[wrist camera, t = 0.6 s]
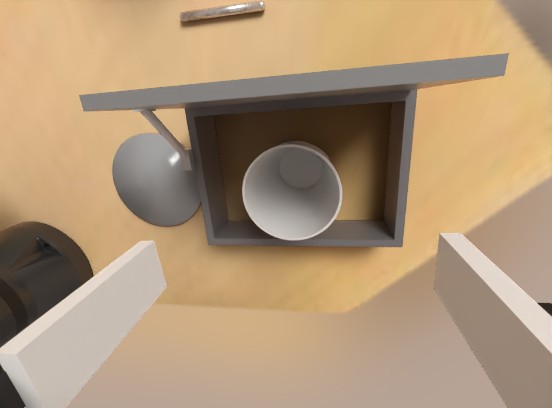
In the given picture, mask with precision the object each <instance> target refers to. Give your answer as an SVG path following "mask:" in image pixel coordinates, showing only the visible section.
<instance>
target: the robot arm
mask: <svg viewBox="0 0 552 408" xmlns="http://www.w3.org/2000/svg"><path fill="white" fill-rule="evenodd" d="M166 287H167V285H166V281H165V278H164V274H163V271H162V267H161V264H160V260H159V257H158V253H157V250H156V246H155V243H154V241H140V242H138V243H137V244H136V245H134V246H133V247H132V248H130V249H129V250H128V251H127V252H125V253H124V254H123V255H121V256H120V257H119V258H117V259H116V260H115V261H113V262H112V263H111V264H109V265H108V266H107V267H106V268H104V269H103V270H102V271H100V272H99V273H98V274H96V275H95V276H94V277H93V275H92V270H91V267H90V264H89V262H88V260H87V258H86V256H85V255H84V253H83V252H82V250H81V249H80V248H79V247H78V246H77V244H76V243H75V242H74V241H73V240H72V239H70V238H69V237H68V236H67V235H65V234H64V233H63V232H61V231H59V230H58V229H56V228H54V227H52V226H49V225H47V224H43V223H39V222H23V223H20V224H17V225H15V226H12V227H10V228H7V229H5V230H3V231H1V232H0V408H24V407H26V408H66V407H67V406H68V405H69V403H70V402H71V401H72V400H73V399H74V397H75V396H76V395H77V394H78V393H79V391H80V390H81V389H82V388H83V387H84V385H85V384H86V383H87V382H88V381H89V379H90V378H91V377H92V376H93V375H94V373H95V372H96V371H97V370H98V368H99V367H100V366H101V365H102V364H103V363H104V362H105V360H106V359H107V358H108V357H109V356H110V354H111V353H112V352H113V351H114V350H115V348H116V347H117V346H118V345H119V344H120V342H121V341H122V340H123V339H124V338H125V336H126V335H127V334H128V333H129V332H130V330H131V329H132V328H133V327H134V326H135V324H136V323H137V322H138V321H139V320H140V318H141V317H142V316H143V315H144V314H145V313H146V311H147V310H148V309H149V308H150V307H151V305H152V304H153V303H154V302H155V301H156V299H157V298H158V297H159V296H160V295H161V293H162V292H163V291H164V290H165V289H166ZM434 290H435V291H436V293H437V295H438V296H439V298H440V299H441V301H442V303H443V304H444V306H445V308H446V309H447V311H448V312H449V314H450V315H451V317H452V319H453V320H454V322H455V324H456V325H457V327H458V328H459V330H460V332H461V333H462V335H463V337H464V338H465V340H466V341H467V343H468V345H469V346H470V348H471V350H472V351H473V353H474V354H475V356H476V358H477V359H478V361H479V362H480V364H481V366H482V367H483V369H484V371H485V372H486V374H487V375H488V377H489V379H490V380H491V382H492V384H493V385H494V386H495V388H496V390H497V391H498V393H499V395H500V396H501V398H502V400H503V401H504V403H505V405H506V406H507V408H552V304H551V303H536V302H535V301H534V300H533V299H532V298H531V297H530V296H529V295H528V294H526V293H525V292H524V291H523V290H522V289H521V288H520V287H519V286H518V285H517V284H515V283H514V282H513V281H512V280H511V279H510V278H509V277H508V276H507V275H506V274H504V273H503V272H502V271H501V270H500V269H499V268H498V267H497V266H496V265H494V263H493V262H491V261H490V260H489V259H488V258H487V257H486V256H485V255H484V254H483V253H482V252H481V251H479V250H478V249H477V248H476V247H475V246H474V245H473V244H472V243H470V241H469V240H467V239H466V238H465V237H464V236H463V235H462V234H461V233H440V234H439V244H438V253H437V263H436V273H435V282H434Z"/></svg>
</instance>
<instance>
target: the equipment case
mask: <svg viewBox="0 0 552 408" xmlns="http://www.w3.org/2000/svg"><path fill="white" fill-rule="evenodd" d="M508 54H509V53H507V54H497V55H487V56H477V57H466V58H456V59H446V60H436V61H425V62H415V63H405V64H395V65H384V66H374V67H364V68H354V69H343V70H333V71H323V72H313V73H302V74H292V75H282V76H271V77H261V78H251V79H241V80H230V81H220V82H210V83H200V84H189V85H179V86H169V87H159V88H148V89H138V90H128V91H118V92H107V93H97V94H87V95H79V96H80V100H81V103H82V107H83V110H84V111H113V110H133V112H141V113H142V114H143V116H144V117H145V118H146V119H147V120H148V121H149V122H150V123H151V124H152V125H153V126H154V127H155V128H156V129H157V130H158V132H159V133H160V134H161V135H162V136H163V137H164V138H165V139H166V140H167V141H168V142H169V143H170V144H171V145H172V147H173V148H174V149H175V150H176V151H177V152H178V153H179V155H180V161H181V166H182V170H193V169H195V170H196V176H197V182H198V187H199V193H200V199H201V205H202V210H203V216H204V222H205V227H206V233H207V239H208V245H267V246H347V247H402V245H403V235H404V224H405V213H406V203H407V192H408V182H409V171H410V160H411V150H412V139H413V129H414V118H415V107H416V97H417V90H415V89H421V88H428V87H434V86H441V85H447V84H453V83H460V82H466V81H473V80H479V79H486V78H492V77H498V76H504V75H505V69H506V64H507V59H508ZM405 90H406V91H405ZM380 92H381V93H380ZM368 93H369V94H368ZM343 95H344V96H343ZM331 96H332V97H331ZM319 97H320V98H319ZM294 99H295V100H294ZM282 100H283V101H282ZM257 102H258V103H257ZM383 102H392V104H391V119H390V134H389V149H388V165H387V180H386V195H385V210H384V220H334V221H333V222H332V223H331V225H330V226H329V227H328V228H326V229H325V230H324V231H323V232H321V233H319V234H318V235H316V236H313V237H311V238H308V239H303V240H285V239H280V238H277V237H274V236H272V235H270V234H268V233H266V232H265V231H263V230H262V229H261V228H259V227H258V226H257V225H256V224H255V223H254V221H228V214H227V207H226V200H225V193H224V186H223V179H222V172H221V165H220V158H219V151H218V144H217V137H216V130H215V123H214V116H213V115H223V114H236V113H250V112H263V111H276V110H289V109H303V108H316V107H329V106H343V105H356V104H369V103H383ZM245 103H246V104H245ZM208 106H209V107H208ZM196 107H197V108H196ZM177 108H185V113H186V119H187V125H188V130H189V136H190V142H191V147H192V148H185V149H184V147H183V146H182V145H181V144H180V143H179V142H178V141H177V139H176V138H175V137H174V136H173V135H172V134H171V133H170V131H169V130H168V129H167V128H166V127H165V126H164V125H163V123H162V122H161V121H160V120H159V119H158V118H157V117H156V115H155V114H154V113H153V112H152V111H156V109H177Z"/></svg>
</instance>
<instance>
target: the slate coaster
mask: <svg viewBox="0 0 552 408" xmlns="http://www.w3.org/2000/svg"><path fill="white" fill-rule="evenodd" d="M180 144H181V143H180ZM181 145H182V144H181ZM182 146H183V145H182ZM183 147H184V146H183ZM184 149H185V147H184ZM112 172H113V180H114V184H115V187H116V190H117V192H118V194H119V196H120V198H121V199H122V201H123V202H124V204H125V205H126V206H127V207H128V208H129V209H130V210H131V211H132V212H133V213H134V214H135V215H137V216H138V217H139V218H141V219H143V220H144V221H147V222H149V223H152V224H155V225H159V226H173V225H178V224H180V223H183V222H184V221H186V220H188V219H189V218H190V217H191V216H193V214H194V213H195V212H196V211H197V210H198V208H199V206H200V204H201V199H200V193H199V187H198V182H197V176H196V170H195V169H193V170H182V166H181V161H180V155H179V153H178V152H177V151H176V150H175V149H174V148H173V147H172V145H171V144H170V143H169V142H168V141H167V140H166V139H165V138H164V137H163V136H162V135H161V134H158V133H144V134H139V135H135V136H133V137H131V138H129V139H128V140H126V141H125V142H124V143H123V144H122V145H121V146H120V147H119V149H118V150H117V152H116V154H115V157H114V161H113V171H112Z"/></svg>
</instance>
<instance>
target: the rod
mask: <svg viewBox="0 0 552 408" xmlns="http://www.w3.org/2000/svg"><path fill="white" fill-rule="evenodd" d="M264 9H265V3H264V1H254V2H247V3H240V4H234V5H227V6H220V7H213V8H207V9H200V10H193V11H186V12H181V13H180V19H181V20H182V21H183V22H186V21H193V20H200V19H207V18H214V17H221V16H229V15H236V14H243V13H250V12H257V11H263V10H264Z"/></svg>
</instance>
